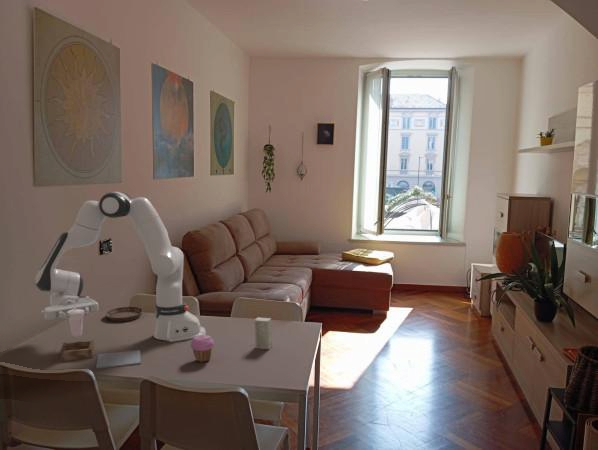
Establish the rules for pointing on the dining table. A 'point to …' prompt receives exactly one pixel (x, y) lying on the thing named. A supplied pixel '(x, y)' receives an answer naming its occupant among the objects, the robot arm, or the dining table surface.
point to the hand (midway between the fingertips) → (76, 314)
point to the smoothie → (76, 320)
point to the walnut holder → (77, 350)
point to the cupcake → (202, 347)
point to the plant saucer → (124, 313)
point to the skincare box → (263, 333)
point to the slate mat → (118, 359)
